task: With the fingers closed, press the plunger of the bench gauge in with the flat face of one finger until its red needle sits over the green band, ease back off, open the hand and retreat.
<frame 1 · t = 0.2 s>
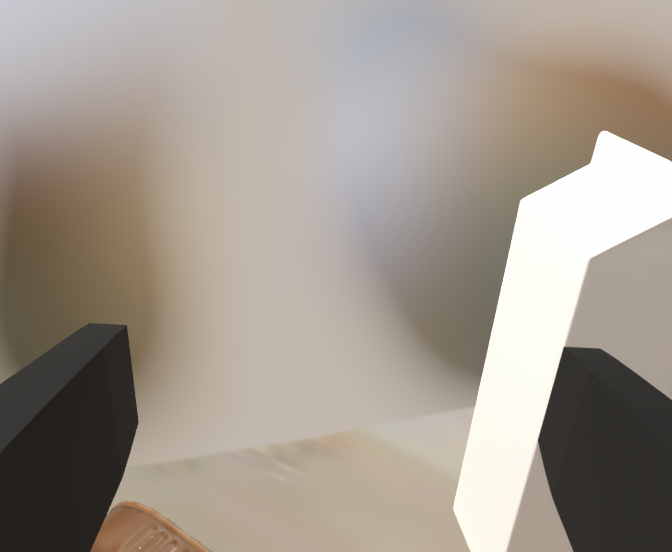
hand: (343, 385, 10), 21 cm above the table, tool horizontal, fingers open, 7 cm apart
milk: (521, 551, 34), on the table
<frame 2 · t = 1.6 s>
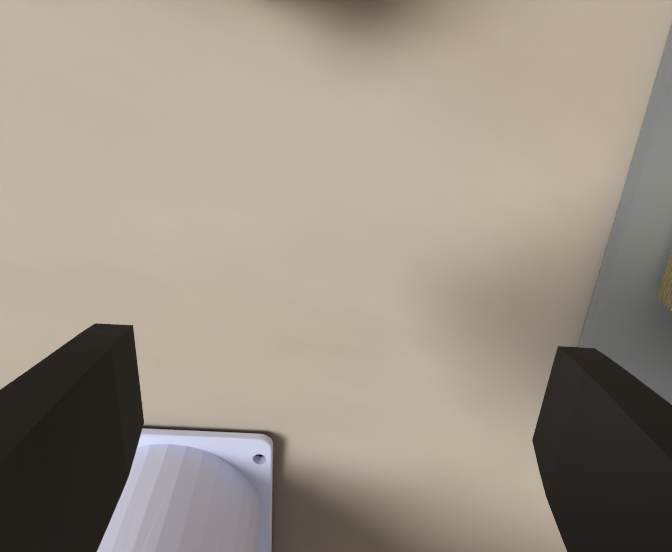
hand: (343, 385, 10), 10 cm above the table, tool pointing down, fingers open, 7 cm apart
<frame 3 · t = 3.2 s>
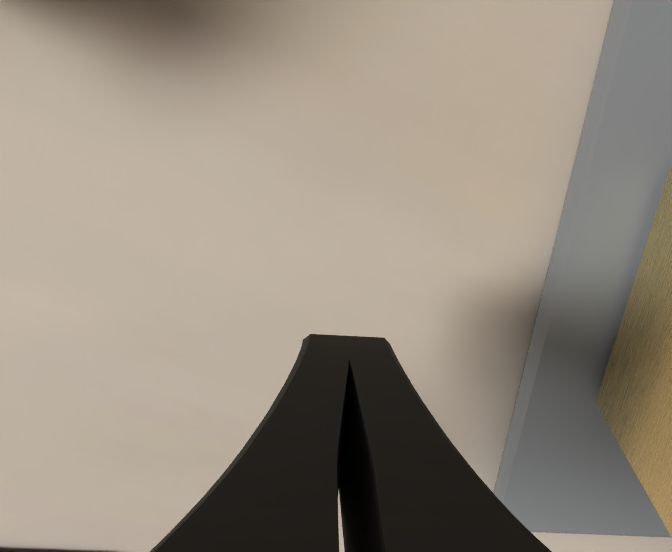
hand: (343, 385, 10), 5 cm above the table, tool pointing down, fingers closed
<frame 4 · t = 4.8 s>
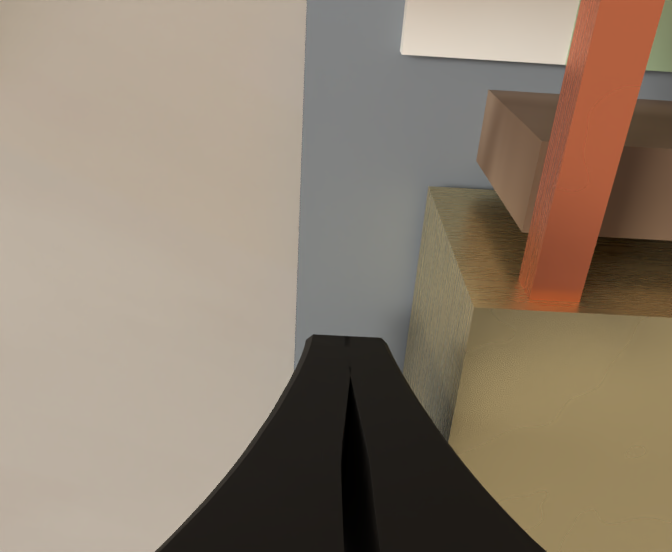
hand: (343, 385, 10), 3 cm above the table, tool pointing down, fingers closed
gauge housing: (583, 313, 13), resting on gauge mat
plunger: (570, 296, 9), point 3 cm above the table, slide at 0.7 cm, touching gripper
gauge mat: (618, 315, 13), on the table
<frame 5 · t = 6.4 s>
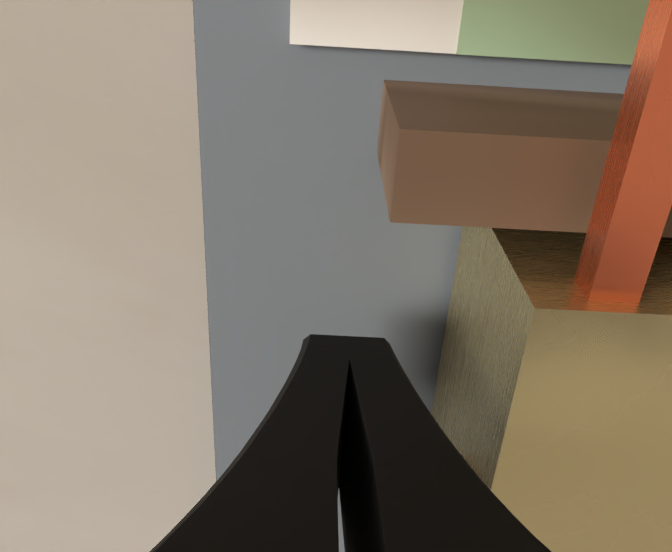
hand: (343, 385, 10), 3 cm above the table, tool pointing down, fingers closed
gauge housing: (504, 307, 13), resting on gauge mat
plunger: (618, 297, 9), point 3 cm above the table, slide at 3.1 cm
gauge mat: (540, 309, 13), on the table
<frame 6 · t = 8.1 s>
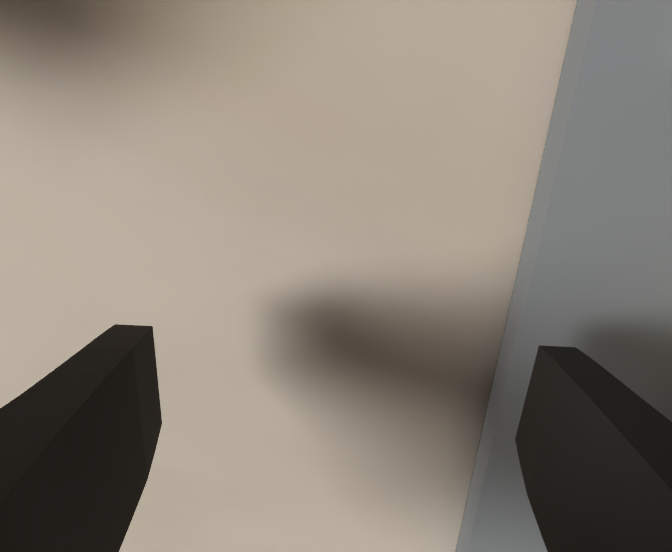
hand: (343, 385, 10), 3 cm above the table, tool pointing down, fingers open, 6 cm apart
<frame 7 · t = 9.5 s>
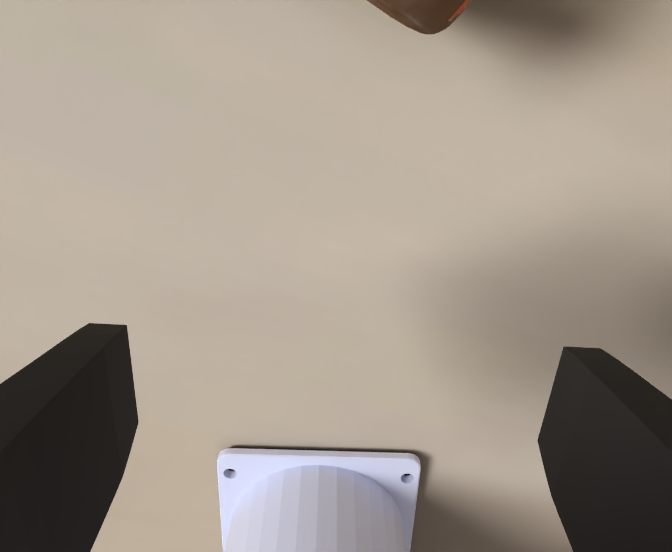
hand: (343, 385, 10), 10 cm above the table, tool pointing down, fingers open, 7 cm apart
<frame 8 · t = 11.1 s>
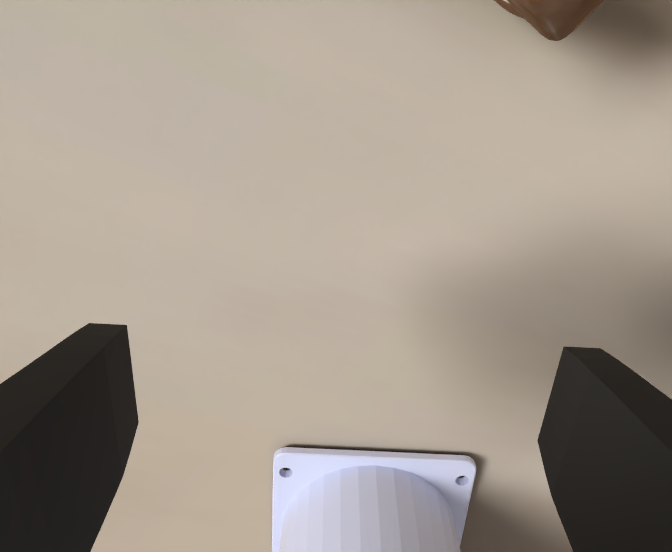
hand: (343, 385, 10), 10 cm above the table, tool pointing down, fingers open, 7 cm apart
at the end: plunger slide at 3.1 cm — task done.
